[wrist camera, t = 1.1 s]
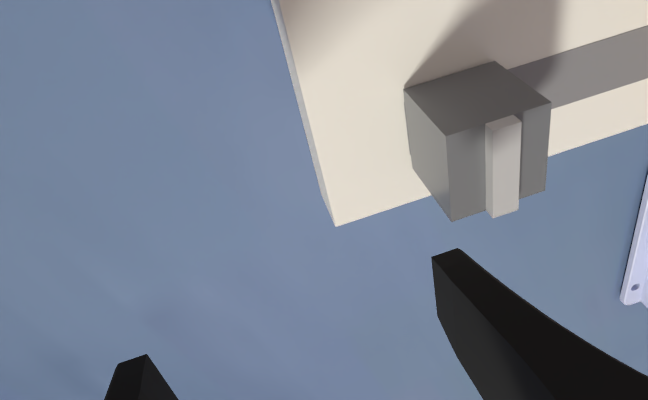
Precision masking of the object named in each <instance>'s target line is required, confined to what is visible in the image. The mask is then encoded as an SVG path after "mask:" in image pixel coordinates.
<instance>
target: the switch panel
mask: <svg viewBox="0 0 648 400" xmlns="http://www.w3.org/2000/svg"><path fill="white" fill-rule="evenodd" d="M271 2H272V6H273V10H274V14H275V18H276V22H277V25H278V29H279V33H280V37H281V41H282V45H283V48H284V52H285V56H286V60H287V64H288V68H289V72H290V75H291V79H292V83H293V87H294V91H295V95H296V98H297V102H298V106H299V110H300V114H301V118H302V122H303V125H304V129H305V133H306V137H307V141H308V145H309V148H310V152H311V156H312V160H313V164H314V168H315V172H316V175H317V179H318V183H319V187H320V191H321V195H322V197H323V199H324V202H325V204H326V206H327V208H328V211H329V213H330V215H331V217H332V220H333V222H334V224H335V227H337V226H340V225H343V224H346V223H349V222H352V221H355V220H358V219H361V218H364V217H367V216H370V215H373V214H376V213H379V212H382V211H385V210H388V209H391V208H394V207H397V206H400V205H403V204H406V203H409V202H412V201H415V200H418V199H421V198H424V197H427V196H430V195H431V193H430V192H429V190H428V189H427V188H426V186H425V185H424V184H423V182H422V181H421V179H420V178H419V177H418V175H417V174H416V173H415V171H414V170H413V168H412V161H411V152H410V144H409V135H408V127H407V118H406V110H405V101H404V93H403V89H405V88H409V87H412V86H415V85H418V84H421V83H425V82H428V81H431V80H434V79H437V78H441V77H444V76H447V75H450V74H453V73H457V72H460V71H463V70H466V69H469V68H473V67H476V66H479V65H482V64H485V63H489V62H492V61H496V62H497V63H499V64H500V65H501V66H503V67H504V68H505V69H507V70H508V71H510V72H511V73H512V74H514V75H515V76H516V77H518V78H519V79H521V80H522V81H523V82H525V83H526V84H527V85H529V86H530V87H532V88H533V89H534V90H536V91H537V92H538V93H540V94H541V95H543V96H544V97H545V98H547V99H548V100H549V101H551V102H552V106H551V119H550V132H549V145H548V156H551V155H554V154H557V153H560V152H563V151H566V150H569V149H572V148H576V147H579V146H582V145H585V144H588V143H591V142H594V141H597V140H600V139H603V138H606V137H609V136H612V135H615V134H618V133H621V132H624V131H627V130H630V129H633V128H636V127H639V126H642V125H645V124H648V0H271Z"/></svg>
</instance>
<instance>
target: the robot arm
mask: <svg viewBox="0 0 648 400" xmlns="http://www.w3.org/2000/svg"><path fill="white" fill-rule="evenodd" d="M431 258H432V268H433V277H434V287H435V297H436V306H437V316H438V318H439V320H440V322H441V325H442V327H443V329H444V331H445V333H446V335H447V337H448V339H449V341H450V343H451V346H452V348H453V350H454V352H455V354H456V356H457V358H458V359H459V361H460V362H461V364H462V366H463V367H464V369H465V371H466V372H467V374H468V375H469V377H470V379H471V380H472V382H473V384H474V385H475V387H476V388H477V390H478V392H479V393H480V395H481V396H482V398H483V400H648V376H646V375H644V374H642V373H640V372H638V371H636V370H635V369H633V368H631V367H629V366H627V365H626V364H624V363H622V362H620V361H619V360H617V359H615V358H613V357H611V356H610V355H608V354H606V353H605V352H603V351H601V350H599V349H598V348H596V347H595V346H593V345H591V344H590V343H588V342H586V341H585V340H583V339H582V338H580V337H578V336H577V335H575V334H574V333H572V332H571V331H569V330H568V329H566V328H564V327H563V326H561V325H560V324H558V323H557V322H555V321H554V320H552V319H551V318H549V317H548V316H547V315H545V314H544V313H542V312H541V311H540V310H538V309H537V308H535V307H534V306H532V305H531V304H530V303H528V302H527V301H525V300H524V299H523V298H521V297H520V296H519V295H517V294H516V293H515V292H513V291H512V290H510V289H509V288H508V287H507V286H505V285H504V284H503V283H501V282H500V281H499V280H498V279H496V278H495V277H494V276H492V275H491V274H490V273H489V272H487V271H486V270H485V269H484V268H482V267H481V266H480V265H479V264H478V263H476V262H475V261H474V260H473V259H472V258H470V257H469V256H468V255H467V254H466V253H464V252H463V251H462V250H460V249H458V248H456V249H454V250H451V251H448V252H445V253H442V254H439V255H436V256H433V257H431ZM620 300H621V301H622V302H623V303H624V304H625V305H631V304H634V303H637V302H640V301H641V302H642V303H643V304H644V305H645V306H646V307H647V308H648V175H647V180H646V184H645V189H644V193H643V197H642V202H641V206H640V211H639V215H638V220H637V224H636V228H635V233H634V237H633V242H632V246H631V251H630V255H629V259H628V264H627V268H626V273H625V277H624V281H623V286H622V290H621V295H620ZM104 400H178V398H177V397H176V395H175V394H174V393H173V391H172V390H171V388H170V387H169V385H168V384H167V382H166V381H165V380H164V378H163V377H162V375H161V374H160V372H159V371H158V369H157V368H156V366H155V365H154V364H153V362H152V361H151V359H150V358H149V356H148V355H147V354H145V355H142V356H139V357H137V358H134V359H131V360H128V361H125V362H122V363H119V364H118V365H117V367H116V369H115V372H114V374H113V377H112V380H111V383H110V385H109V388H108V391H107V394H106V396H105V399H104Z"/></svg>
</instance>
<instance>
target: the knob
mask: <svg viewBox="0 0 648 400" xmlns="http://www.w3.org/2000/svg"><path fill="white" fill-rule="evenodd" d="M403 93H404V101H405V110H406V118H407V127H408V135H409V144H410V152H411V161H412V168H413V170H414V171H415V173H416V174H417V175H418V177H419V178H420V179H421V181H422V182H423V184H424V185H425V186H426V188H427V189H428V190H429V192H430V193H431V195H432V196H433V197H434V199H435V200H436V201H437V203H438V204H439V206H440V207H441V208H442V210H443V211H444V212H445V214H446V215H447V217H448V218H449V219H450V221H451V222H453V221H456V220H459V219H462V218H464V217H467V216H470V215H473V214H476V213H479V212H482V211H485V210H486V211H487V212H488V213H489V214H490V216H491V217H492V218H495V217H498V216H501V215H504V214H507V213H510V212H513V211H516V210H518V204H519V199H521V198H524V197H527V196H530V195H533V194H536V193H539V192H542V191H545V184H546V171H547V158H548V145H549V132H550V119H551V106H552V102H551V101H549V100H548V99H547V98H545V97H544V96H543V95H541V94H540V93H538V92H537V91H536V90H534V89H533V88H532V87H530V86H529V85H527V84H526V83H525V82H523V81H522V80H521V79H519V78H518V77H516V76H515V75H514V74H512V73H511V72H510V71H508V70H507V69H505V68H504V67H503V66H501V65H500V64H499V63H497V62H496V61H492V62H489V63H485V64H482V65H479V66H476V67H473V68H469V69H466V70H463V71H460V72H457V73H453V74H450V75H447V76H444V77H441V78H437V79H434V80H431V81H428V82H425V83H421V84H418V85H415V86H412V87H409V88H405V89H403Z"/></svg>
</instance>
